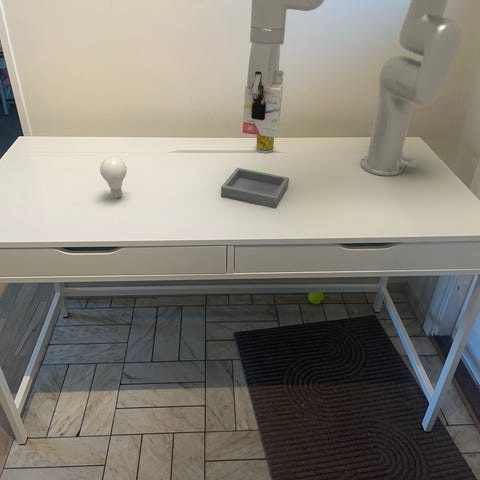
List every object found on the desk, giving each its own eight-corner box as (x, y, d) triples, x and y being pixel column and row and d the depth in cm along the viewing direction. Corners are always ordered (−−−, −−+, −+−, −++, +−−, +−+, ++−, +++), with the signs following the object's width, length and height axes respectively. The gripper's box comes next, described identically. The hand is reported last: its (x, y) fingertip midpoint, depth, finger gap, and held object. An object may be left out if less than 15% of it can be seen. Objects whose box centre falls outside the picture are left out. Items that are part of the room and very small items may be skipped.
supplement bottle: (276, 150, 149) (279, 120, 144) (265, 154, 146) (267, 125, 141) (263, 144, 152) (265, 115, 147) (252, 149, 149) (254, 120, 144)
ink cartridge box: (242, 133, 115) (244, 72, 107) (245, 126, 119) (248, 66, 111) (276, 137, 114) (282, 75, 106) (279, 130, 118) (284, 70, 110)
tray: (288, 187, 130) (289, 177, 128) (275, 208, 120) (276, 198, 118) (236, 177, 133) (237, 167, 132) (220, 196, 124) (221, 186, 122)
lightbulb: (134, 194, 124) (129, 155, 117) (121, 205, 119) (116, 166, 113) (112, 189, 125) (107, 151, 119) (99, 200, 120) (93, 161, 114)
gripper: (262, 26, 112) (258, 102, 122) (238, 41, 98) (235, 124, 109) (293, 29, 110) (286, 106, 120) (272, 45, 96) (266, 130, 107)
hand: (262, 114), depth 114 cm, fingers closed on ink cartridge box, 5 cm apart
